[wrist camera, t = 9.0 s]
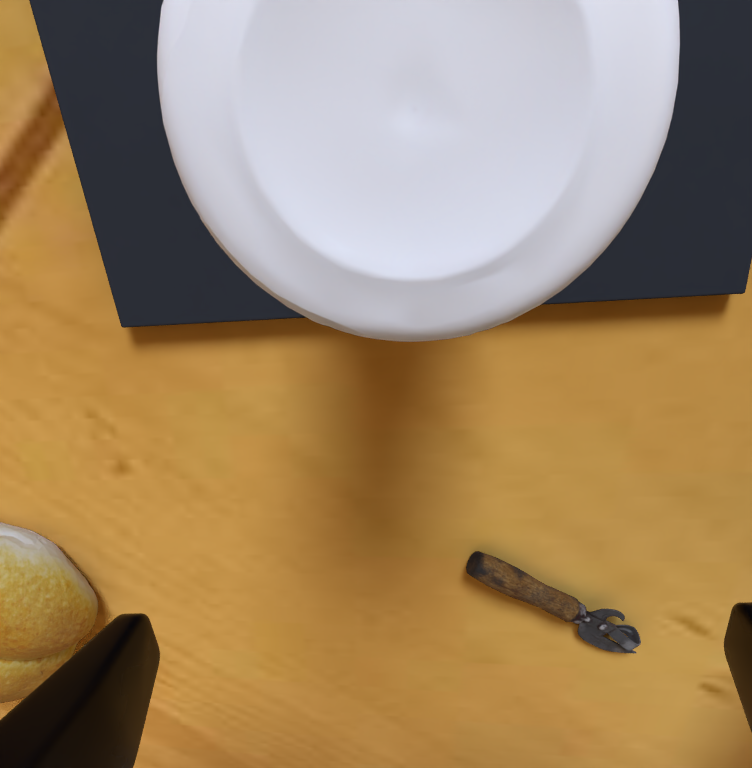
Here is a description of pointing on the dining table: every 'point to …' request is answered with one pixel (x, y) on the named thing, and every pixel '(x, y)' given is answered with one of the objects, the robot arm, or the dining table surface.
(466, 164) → the spice jar
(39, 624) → the bread roll
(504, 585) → the can opener
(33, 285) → the dining table surface
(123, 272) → the desk mat
